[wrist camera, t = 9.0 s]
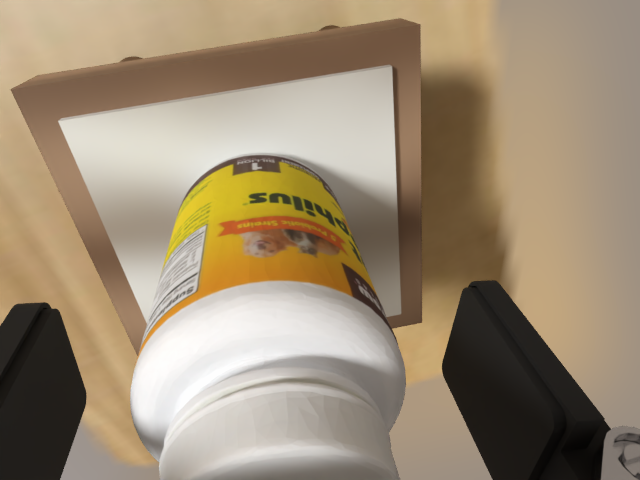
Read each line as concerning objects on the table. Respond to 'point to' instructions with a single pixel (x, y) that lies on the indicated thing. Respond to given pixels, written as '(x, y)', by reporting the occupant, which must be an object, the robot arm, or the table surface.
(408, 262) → the footstool
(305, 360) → the supplement bottle
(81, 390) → the robot arm
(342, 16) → the table surface
